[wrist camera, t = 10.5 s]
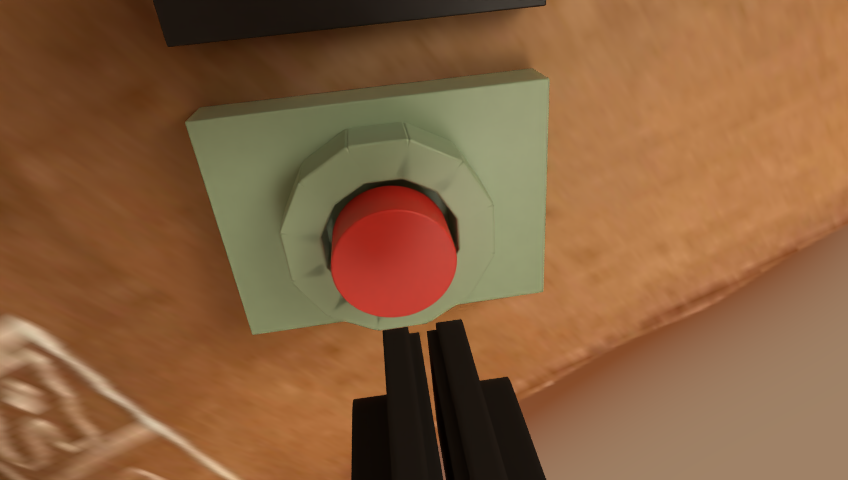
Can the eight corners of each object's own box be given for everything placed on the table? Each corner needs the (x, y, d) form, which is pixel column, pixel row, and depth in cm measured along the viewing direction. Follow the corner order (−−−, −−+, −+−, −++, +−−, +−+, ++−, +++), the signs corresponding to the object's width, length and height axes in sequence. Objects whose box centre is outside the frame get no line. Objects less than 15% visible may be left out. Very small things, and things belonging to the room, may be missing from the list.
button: (342, 293, 17) (342, 326, 15) (322, 193, 15) (319, 219, 14) (450, 277, 17) (460, 309, 16) (443, 177, 16) (453, 201, 14)
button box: (259, 308, 21) (243, 369, 17) (198, 107, 17) (164, 140, 14) (530, 269, 21) (560, 321, 18) (533, 67, 17) (572, 91, 14)
